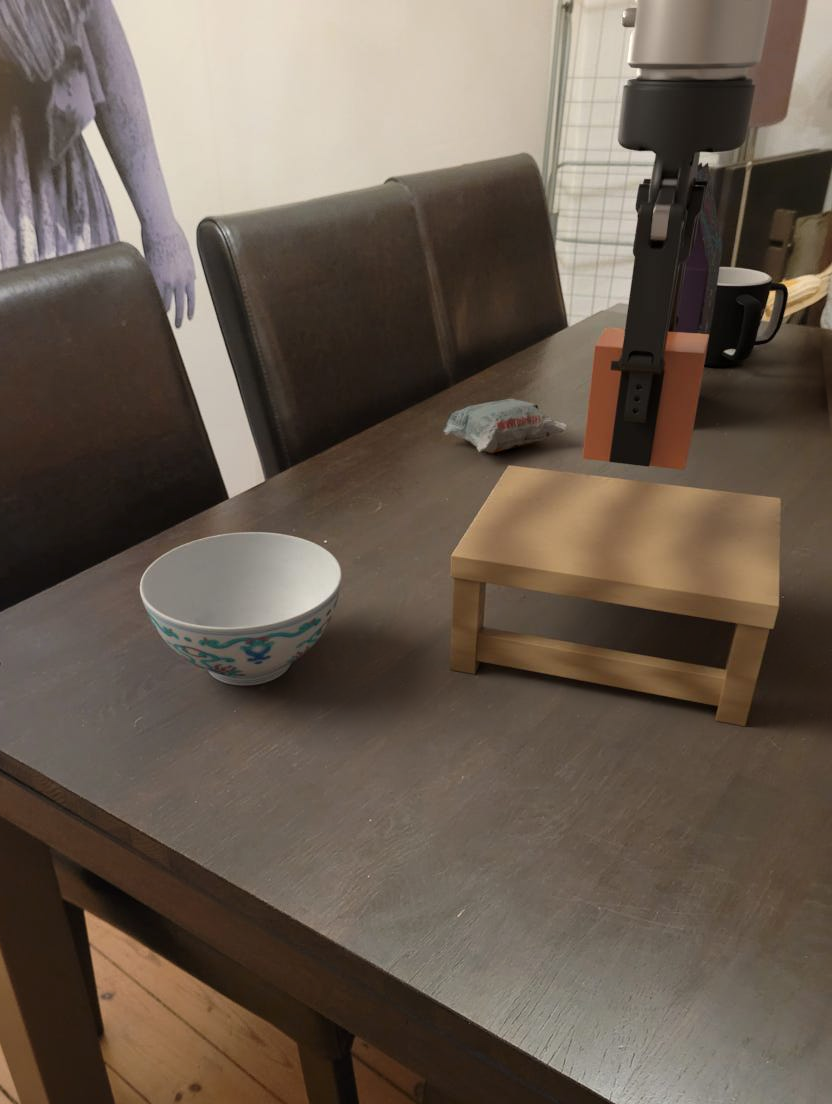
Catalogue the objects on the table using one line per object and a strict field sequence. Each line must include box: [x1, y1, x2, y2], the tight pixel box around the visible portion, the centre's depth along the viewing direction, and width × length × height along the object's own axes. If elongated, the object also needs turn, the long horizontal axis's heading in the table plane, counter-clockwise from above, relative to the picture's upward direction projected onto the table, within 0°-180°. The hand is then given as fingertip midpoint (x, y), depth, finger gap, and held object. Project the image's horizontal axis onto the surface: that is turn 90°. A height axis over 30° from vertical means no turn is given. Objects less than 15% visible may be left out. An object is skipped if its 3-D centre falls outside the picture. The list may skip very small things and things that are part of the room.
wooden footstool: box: [449, 465, 782, 727], centre depth 75 cm, size 22×18×10 cm
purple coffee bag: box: [674, 162, 723, 334], centre depth 117 cm, size 8×16×28 cm, turn 156°
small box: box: [582, 327, 709, 471], centre depth 67 cm, size 7×5×8 cm
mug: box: [704, 266, 789, 367], centre depth 139 cm, size 16×16×12 cm
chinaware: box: [139, 531, 343, 686], centre depth 73 cm, size 15×15×8 cm
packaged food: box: [443, 398, 567, 454], centre depth 113 cm, size 9×12×5 cm
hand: (634, 447), depth 69 cm, fingers closed on small box, 5 cm apart
